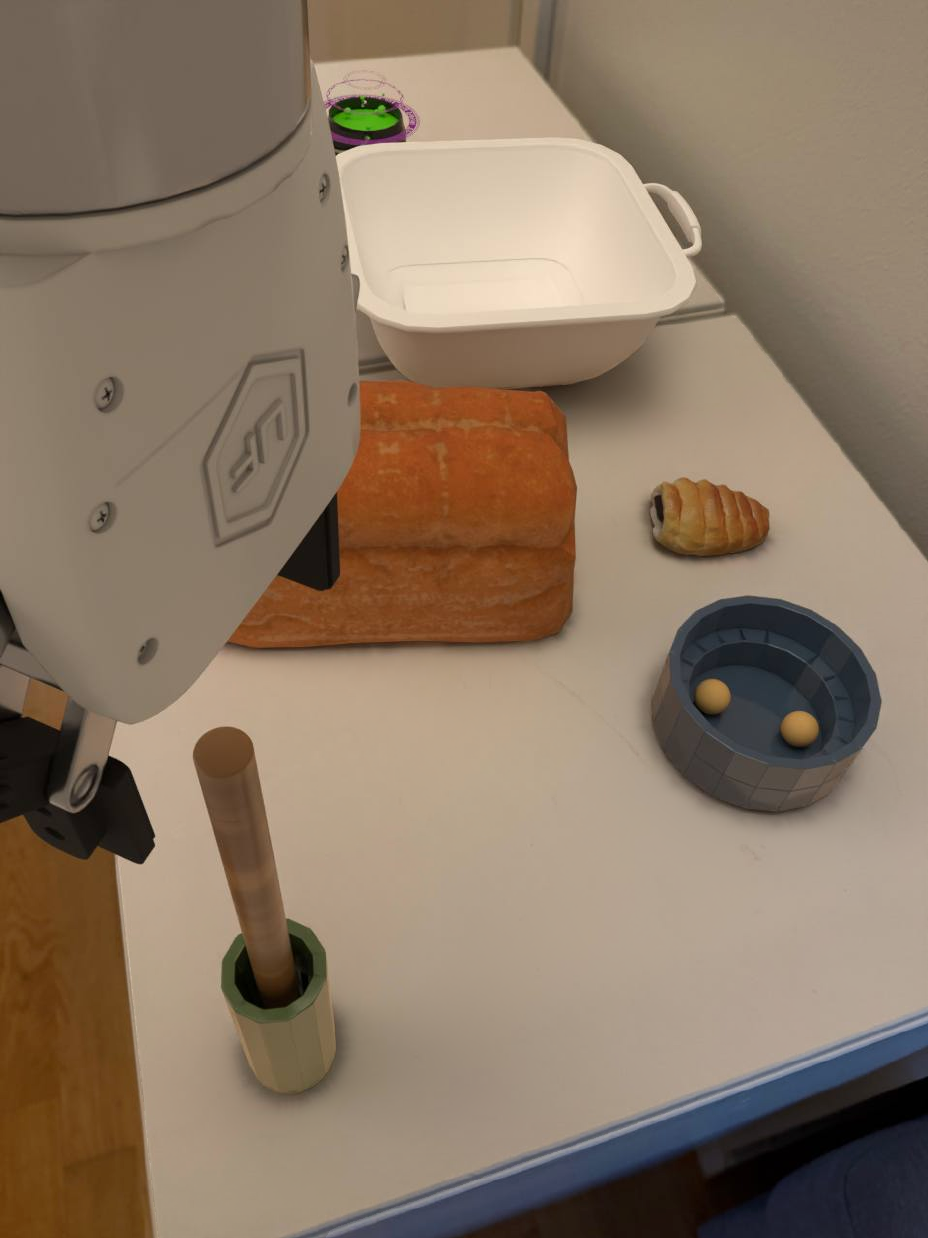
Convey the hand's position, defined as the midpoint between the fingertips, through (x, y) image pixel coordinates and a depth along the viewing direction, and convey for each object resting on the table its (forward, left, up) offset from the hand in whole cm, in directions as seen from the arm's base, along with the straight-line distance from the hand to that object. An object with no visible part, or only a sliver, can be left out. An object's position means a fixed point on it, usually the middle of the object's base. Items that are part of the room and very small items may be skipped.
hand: (203, 688), depth 28 cm
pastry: (+48, -10, -34) cm, 59 cm away
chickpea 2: (+31, -21, -32) cm, 49 cm away
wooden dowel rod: (0, 0, -33) cm, 33 cm away
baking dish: (+63, +14, -34) cm, 72 cm away
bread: (+32, +10, -34) cm, 48 cm away
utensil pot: (0, 0, -33) cm, 33 cm away
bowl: (+31, -18, -33) cm, 49 cm away
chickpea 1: (+31, -15, -32) cm, 47 cm away
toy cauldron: (+83, +37, -34) cm, 97 cm away
